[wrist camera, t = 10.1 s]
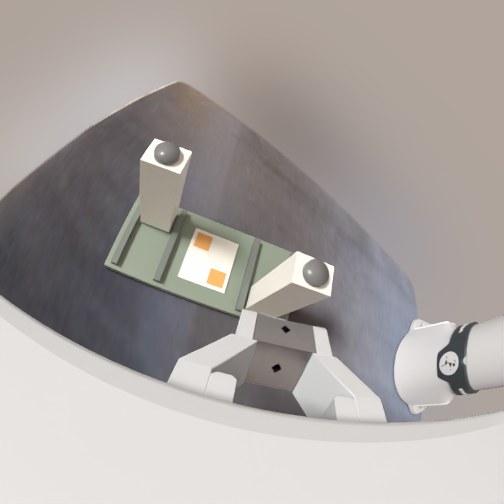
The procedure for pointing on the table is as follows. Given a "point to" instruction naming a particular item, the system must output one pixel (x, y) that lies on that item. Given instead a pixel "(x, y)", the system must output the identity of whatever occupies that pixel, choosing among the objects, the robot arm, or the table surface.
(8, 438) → the robot arm
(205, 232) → the switch unit
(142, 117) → the table surface
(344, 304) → the table surface
